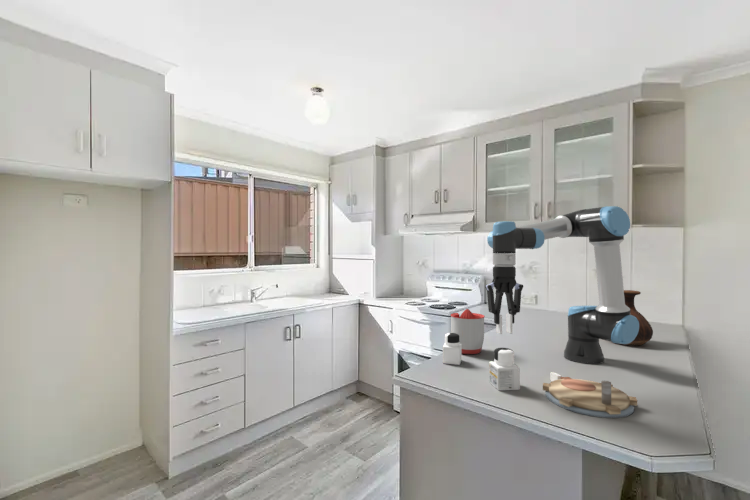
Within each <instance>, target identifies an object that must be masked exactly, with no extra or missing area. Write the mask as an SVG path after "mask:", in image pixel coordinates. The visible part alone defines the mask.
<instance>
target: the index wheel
mask: <svg viewBox="0 0 750 500" xmlns="http://www.w3.org/2000/svg"><path fill="white" fill-rule="evenodd" d="M542 391H549V393H550V394H551V395H552V396H553V397H555V398H556V399H558V400H559V403H560V404H563V405H565V406H568V407H570V406H576V407H579V408H584V409H589V410H595V411H606V412H607V413H609V414H621V410H625V409H627V408H628V407H629V406H630V405H634V407H635V406H637V407H638V400H637V399H638V398H637V397H635V396H629V395H628V394H627V393H626V392H624V391H623V390H621V389H619V388H616V387H614V386H613V384H612V381H609V380H601V382H598V381H593V380H589V379H588V380H587V379H581V378H571V377H570V376H562V377H561V379H559V380H554V381H550V383H547V382H543V383H542Z"/></svg>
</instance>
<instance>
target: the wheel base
mask: <svg viewBox="0 0 750 500" xmlns="http://www.w3.org/2000/svg"><path fill="white" fill-rule="evenodd" d="M549 377H550V379H549V380H550V382H552V381H554V380H559V379H561V377H563V376H562V375H560V374H559V373H556V372H555V371H552V372H550V375H549ZM545 397H546V398H547V399H548V401H550V402H551V403H553V404H555V405H556V406H558V407H561V408H563V409H565V410H567V411H569V412H570V411H571V412H574V413H577V414H581V415H585V416H590V417H596V418H608V419H609V418H610V419H611V418H613V419H615V418H624V417H628V416H631V415H632V414H633V413H634V412H635V405H630V406H629V407H628V408H627V409H625V410H621V414H609V413H607V412H606V411H595V410H589V409H584V408H579V407H576V406H570V407H568V406H565V405H563V404H560V403H559V400H558V399H556V398H555V397H553V396H552V395H551V394H550V393H549V391H545Z"/></svg>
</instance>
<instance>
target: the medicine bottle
mask: <svg viewBox="0 0 750 500" xmlns="http://www.w3.org/2000/svg"><path fill="white" fill-rule="evenodd" d="M462 355H463V354H462V347H461V344H459V335H458V334H456V333H451V332H447V333H445V335H444V343H443V346H442V364H447V365H456V366H460V365H461V362H462V361H463V360H462Z"/></svg>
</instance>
